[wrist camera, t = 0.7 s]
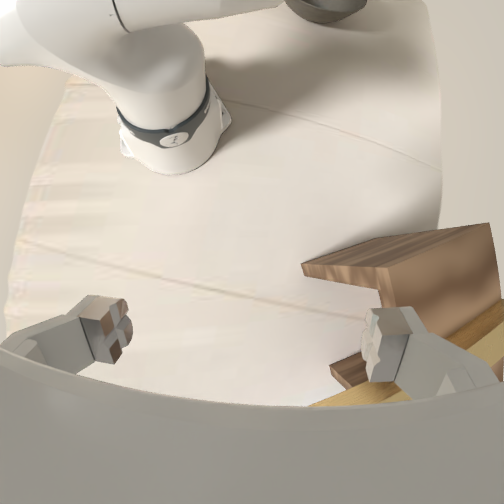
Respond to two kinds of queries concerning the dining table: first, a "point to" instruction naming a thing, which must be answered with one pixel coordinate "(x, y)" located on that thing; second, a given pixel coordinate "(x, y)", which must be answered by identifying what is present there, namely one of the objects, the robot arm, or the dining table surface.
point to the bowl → (325, 9)
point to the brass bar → (467, 337)
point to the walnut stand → (419, 281)
